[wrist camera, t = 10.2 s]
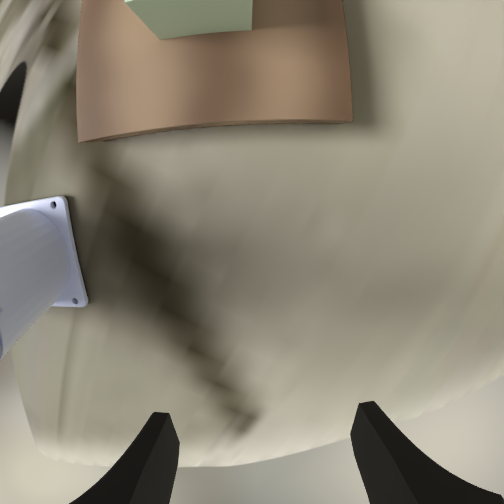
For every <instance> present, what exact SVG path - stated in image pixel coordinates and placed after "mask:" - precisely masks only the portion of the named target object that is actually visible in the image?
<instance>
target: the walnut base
mask: <svg viewBox="0 0 504 504" xmlns="http://www.w3.org/2000/svg"><path fill="white" fill-rule="evenodd" d="M124 2H125V0H82V7H81V15H80V25H79V36H78V52H77V87H76V92H77V128H78V142H95V141H106V140H111V139H117V138H123V137H129V136H135V135H142V134H148V133H156V132H163V131H172V130H180V129H190V128H200V127H212V126H226V125H244V124H272V123H319V124H339V123H344V122H350V121H353V112H352V93H351V77H350V65H349V53H348V43H347V34H346V25H345V18H344V10H343V3H342V0H253V5H252V30H245V31H228V32H216V33H206V34H197V35H189V36H182V37H175V38H169V39H163V40H159V39H158V38H157V36H156V35H155V34H154V33H153V32H152V31H151V30H150V29H149V28H148V27H147V26H146V25H145V24H144V22H143V21H142V20H141V19H140V18H139V17H138V16H137V15H136V14H135V13H134V12H133V11H132V10H131V9H130V8H129V7H128V6H127V5H126V4H125V3H124Z"/></svg>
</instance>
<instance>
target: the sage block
mask: <svg viewBox="0 0 504 504" xmlns="http://www.w3.org/2000/svg"><path fill="white" fill-rule="evenodd" d="M124 3H125V4H126V5H127V6H128V7H129V8H130V9H131V10H132V11H133V12H134V13H135V14H136V15H137V16H138V17H139V18H140V19H141V20H142V21H143V22H144V24H145V25H146V26H147V27H148V28H149V29H150V30H151V31H152V32H153V33H154V34H155V35H156V36H157V38H158V39H159V40H163V39H169V38H175V37H182V36H189V35H197V34H206V33H216V32H228V31H245V30H252V5H253V0H125V2H124Z"/></svg>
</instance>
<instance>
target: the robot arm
mask: <svg viewBox="0 0 504 504" xmlns="http://www.w3.org/2000/svg"><path fill="white" fill-rule="evenodd" d="M54 201H55V202H56V207H55V206H54ZM74 298H76V299H77V301H78V302H77V301H75V299H74ZM87 304H88V297H87V294H86V290H85V286H84V282H83V278H82V274H81V270H80V266H79V261H78V257H77V252H76V247H75V242H74V237H73V232H72V227H71V221H70V215H69V209H68V202H67V199H66V198H65V197H64V196H56V197H50V198H44V199H38V200H33V201H28V202H22V203H17V204H12V205H7V206H2V207H0V360H1V359H2V357H3V356H4V355H5V354H6V353H7V352H8V351H9V350H10V349H11V347H12V346H13V345H14V344H15V343H16V342H17V341H18V340H19V339H20V338H21V337H22V336H23V334H24V333H25V332H26V331H27V330H28V329H29V328H30V327H31V326H32V325H33V324H34V323H35V322H36V321H37V320H38V319H39V318H40V317H41V316H42V315H43V314H44V313H45V312H46V311H47V310H48V309H49V308H50V307H51V306H61V307H85V306H86V305H87ZM350 435H351V441H352V446H353V451H354V455H355V459H356V462H357V465H358V468H359V471H360V474H361V477H362V480H363V483H364V486H365V489H366V492H367V495H368V498H369V502H370V504H504V499H503V498H502V496H501V495H499V494H496V493H493V492H490V491H487V490H484V489H482V488H479V487H477V486H474V485H472V484H470V483H468V482H466V481H464V480H462V479H461V478H459V477H457V476H455V475H453V474H452V473H450V472H449V471H447V470H446V469H444V468H442V467H441V466H439V465H438V464H437V463H436V462H434V461H433V460H432V459H430V458H429V457H428V456H427V455H425V454H424V453H423V452H422V451H421V450H420V449H418V448H417V447H416V446H415V445H414V444H413V443H412V442H411V441H410V440H409V439H408V438H407V437H406V436H405V435H404V434H403V433H402V432H401V431H400V430H399V429H398V428H397V427H396V426H395V424H394V423H393V422H392V421H391V420H390V419H389V418H388V417H387V415H386V414H385V413H384V412H383V411H382V410H381V409H380V407H379V406H378V405H377V404H376V403H375V402H374V401H370V402H364V403H359V405H358V408H357V412H356V416H355V419H354V423H353V426H352V430H351V433H350ZM179 445H180V442H179V439H178V437H177V434H176V431H175V428H174V426H173V423H172V420H171V417H170V414H169V413H161V412H154V413H152V415H151V416H150V418H149V419H148V421H147V422H146V424H145V425H144V427H143V428H142V430H141V431H140V433H139V434H138V435H137V437H136V438H135V440H134V441H133V442H132V444H131V445H130V446H129V447H128V449H127V450H126V451H125V453H124V454H123V455H122V456H121V457H120V459H119V460H118V461H117V462H116V463H115V464H114V465H113V467H112V468H111V469H110V470H109V471H108V472H107V473H106V474H105V475H104V476H103V477H102V478H101V479H100V480H99V481H98V482H97V483H96V484H95V485H93V486H92V487H91V488H90V489H89V490H87V491H86V492H85V493H84V494H82V495H81V496H80V497H78V498H77V499H76V500H74V501H73V502H71V503H69V504H169V502H170V498H171V493H172V488H173V484H174V479H175V475H176V470H177V466H178V457H179Z"/></svg>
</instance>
